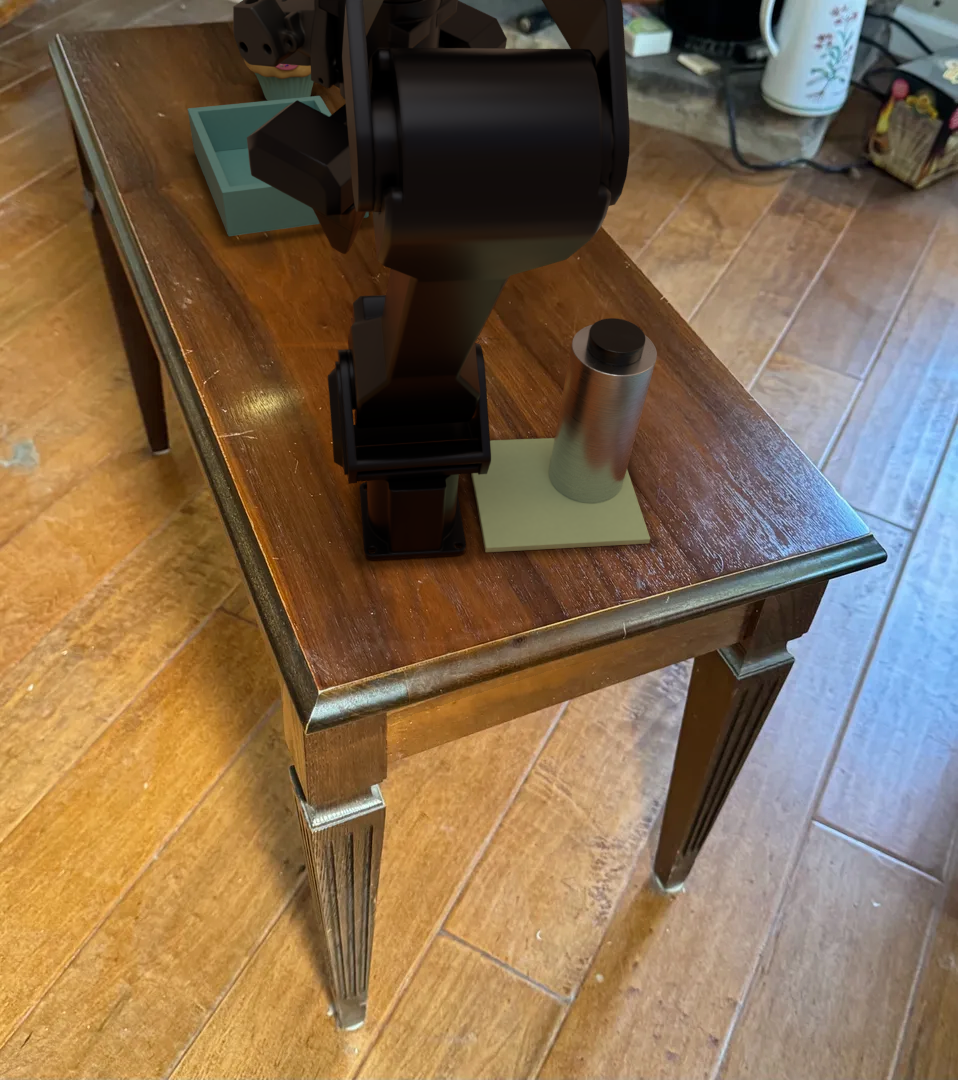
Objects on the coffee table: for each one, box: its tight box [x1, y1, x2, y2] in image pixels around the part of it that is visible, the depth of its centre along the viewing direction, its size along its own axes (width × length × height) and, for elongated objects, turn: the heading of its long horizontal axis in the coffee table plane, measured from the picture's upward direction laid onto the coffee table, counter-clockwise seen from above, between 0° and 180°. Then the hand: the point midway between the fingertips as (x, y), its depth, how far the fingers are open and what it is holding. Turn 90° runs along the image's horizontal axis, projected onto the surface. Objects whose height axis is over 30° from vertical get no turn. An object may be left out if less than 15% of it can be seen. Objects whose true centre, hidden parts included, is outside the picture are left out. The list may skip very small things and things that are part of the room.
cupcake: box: [243, 59, 315, 101], centre depth 96 cm, size 9×8×12 cm
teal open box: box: [187, 95, 370, 237], centre depth 87 cm, size 16×13×5 cm
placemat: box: [470, 437, 651, 553], centre depth 65 cm, size 10×11×1 cm
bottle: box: [549, 317, 658, 503], centre depth 61 cm, size 5×5×12 cm
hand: (380, 211), depth 63 cm, fingers open, 9 cm apart
